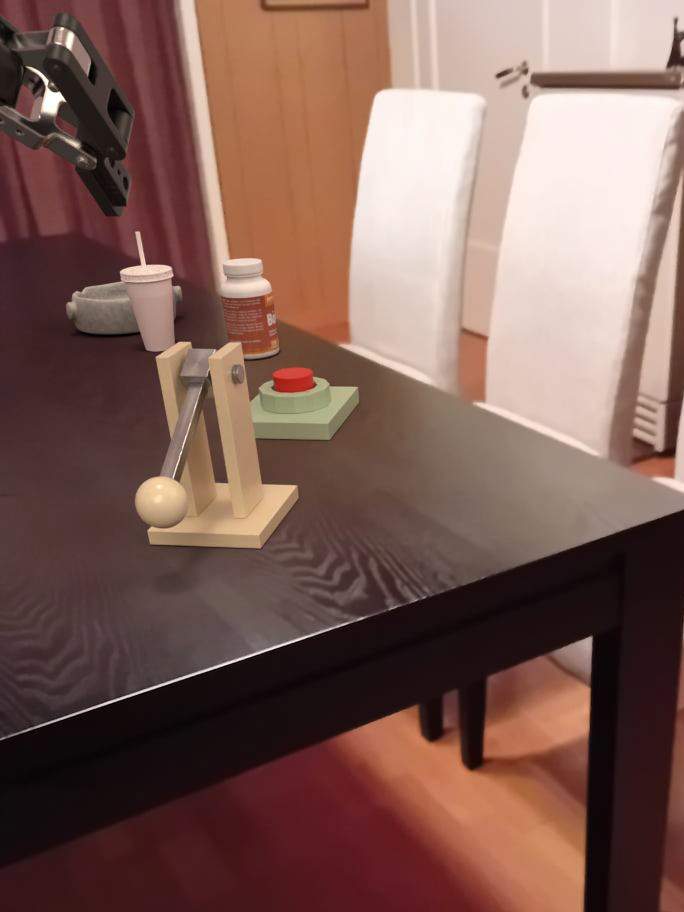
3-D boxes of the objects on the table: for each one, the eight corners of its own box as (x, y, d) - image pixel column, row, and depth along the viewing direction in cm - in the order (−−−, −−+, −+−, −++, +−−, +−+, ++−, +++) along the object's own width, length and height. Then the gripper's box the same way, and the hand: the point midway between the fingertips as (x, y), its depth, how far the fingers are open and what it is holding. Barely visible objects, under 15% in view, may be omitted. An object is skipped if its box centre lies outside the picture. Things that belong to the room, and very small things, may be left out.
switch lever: (189, 539, 70) (170, 508, 67) (140, 537, 71) (120, 507, 68) (237, 377, 78) (222, 342, 75) (193, 376, 78) (176, 341, 75)
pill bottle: (282, 357, 124) (270, 263, 119) (232, 363, 123) (217, 267, 117) (277, 345, 130) (265, 254, 124) (228, 350, 128) (214, 258, 123)
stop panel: (329, 440, 98) (326, 405, 96) (231, 438, 99) (225, 403, 97) (359, 402, 108) (356, 369, 106) (269, 400, 109) (265, 368, 108)
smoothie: (174, 338, 134) (154, 226, 127) (193, 348, 130) (174, 232, 123) (127, 347, 131) (104, 232, 124) (145, 357, 126) (122, 238, 119)
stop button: (308, 396, 100) (306, 378, 99) (269, 395, 101) (267, 378, 100) (319, 384, 104) (317, 367, 103) (281, 383, 104) (279, 366, 103)
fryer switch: (260, 548, 77) (233, 369, 70) (149, 544, 78) (111, 367, 71) (299, 498, 85) (278, 333, 78) (198, 495, 87) (168, 332, 80)
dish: (192, 314, 147) (186, 278, 144) (157, 338, 135) (150, 299, 132) (97, 314, 148) (90, 278, 145) (54, 338, 136) (44, 300, 134)
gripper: (22, -175, 38) (182, 144, 54) (-321, -165, 40) (-68, 142, 55) (-21, -18, 36) (158, 266, 52) (-380, -13, 38) (-101, 261, 53)
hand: (41, 202), depth 53 cm, fingers open, 8 cm apart
